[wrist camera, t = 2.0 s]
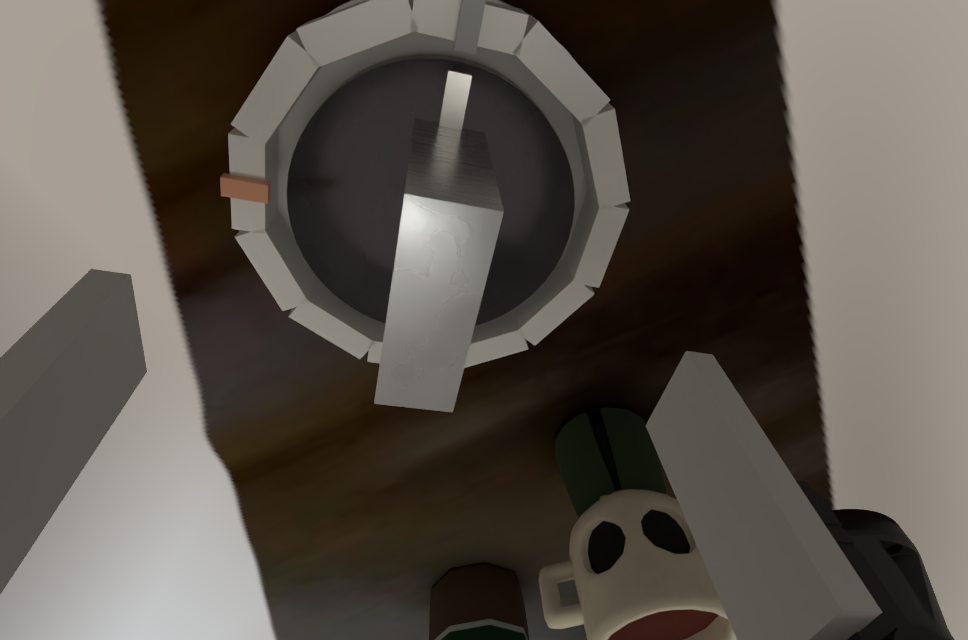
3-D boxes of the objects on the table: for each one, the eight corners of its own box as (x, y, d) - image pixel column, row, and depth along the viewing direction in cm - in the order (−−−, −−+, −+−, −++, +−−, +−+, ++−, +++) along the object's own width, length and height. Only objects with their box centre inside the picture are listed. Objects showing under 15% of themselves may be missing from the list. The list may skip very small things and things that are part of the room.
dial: (528, 327, 26) (560, 466, 19) (292, 293, 24) (232, 434, 17) (604, 90, 20) (690, 167, 13) (299, 20, 18) (215, 67, 11)
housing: (545, 327, 30) (563, 393, 26) (262, 287, 28) (228, 352, 23) (647, 29, 22) (699, 51, 18) (259, -69, 20) (207, -72, 15)
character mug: (676, 374, 33) (789, 579, 22) (687, 450, 37) (786, 654, 26) (504, 421, 34) (534, 636, 24) (532, 489, 38) (568, 699, 28)
